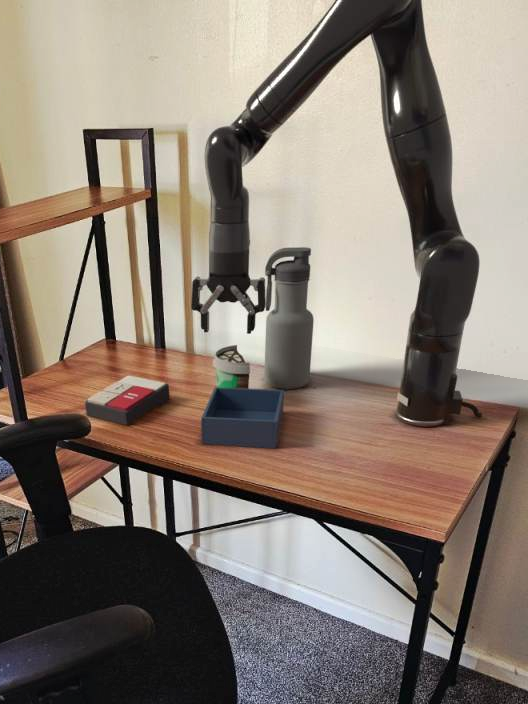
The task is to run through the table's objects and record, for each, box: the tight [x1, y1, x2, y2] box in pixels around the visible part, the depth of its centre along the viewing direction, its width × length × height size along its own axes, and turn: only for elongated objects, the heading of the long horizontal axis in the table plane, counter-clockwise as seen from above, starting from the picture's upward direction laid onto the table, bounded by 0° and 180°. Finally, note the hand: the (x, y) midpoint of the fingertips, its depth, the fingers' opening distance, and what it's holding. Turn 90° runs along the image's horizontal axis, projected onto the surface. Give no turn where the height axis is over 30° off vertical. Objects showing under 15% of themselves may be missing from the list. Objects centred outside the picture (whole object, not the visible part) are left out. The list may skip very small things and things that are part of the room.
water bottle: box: [263, 246, 315, 390], centre depth 148 cm, size 10×10×28 cm
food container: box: [212, 344, 251, 389], centre depth 146 cm, size 12×6×10 cm, turn 6°
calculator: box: [84, 375, 170, 426], centre depth 147 cm, size 11×4×15 cm
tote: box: [200, 386, 285, 449], centre depth 135 cm, size 14×15×5 cm
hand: (227, 332), depth 141 cm, fingers open, 8 cm apart
